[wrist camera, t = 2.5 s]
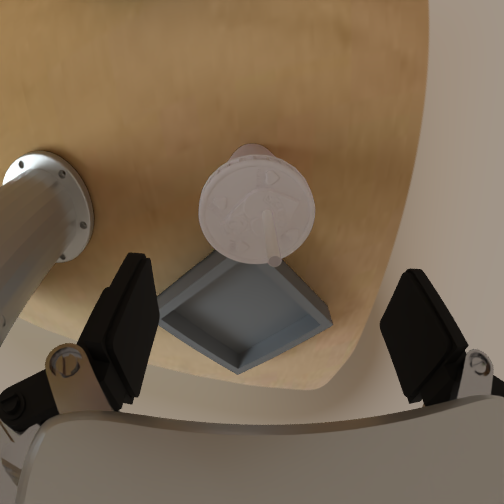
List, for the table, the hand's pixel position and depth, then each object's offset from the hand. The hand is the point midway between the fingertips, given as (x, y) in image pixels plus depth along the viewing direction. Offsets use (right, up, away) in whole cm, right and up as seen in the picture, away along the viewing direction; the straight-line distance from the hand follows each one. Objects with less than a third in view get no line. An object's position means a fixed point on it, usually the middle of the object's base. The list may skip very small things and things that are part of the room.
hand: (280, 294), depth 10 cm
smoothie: (-1, +9, +13) cm, 16 cm away
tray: (-2, -4, +22) cm, 22 cm away
